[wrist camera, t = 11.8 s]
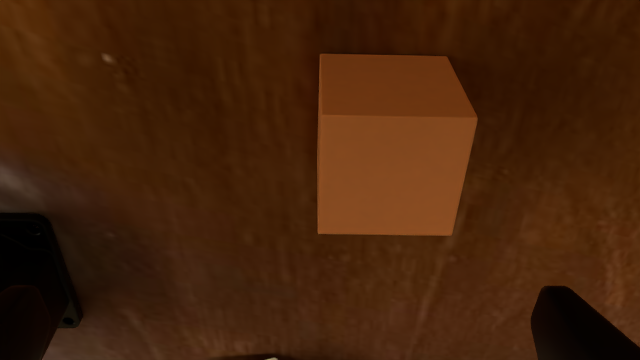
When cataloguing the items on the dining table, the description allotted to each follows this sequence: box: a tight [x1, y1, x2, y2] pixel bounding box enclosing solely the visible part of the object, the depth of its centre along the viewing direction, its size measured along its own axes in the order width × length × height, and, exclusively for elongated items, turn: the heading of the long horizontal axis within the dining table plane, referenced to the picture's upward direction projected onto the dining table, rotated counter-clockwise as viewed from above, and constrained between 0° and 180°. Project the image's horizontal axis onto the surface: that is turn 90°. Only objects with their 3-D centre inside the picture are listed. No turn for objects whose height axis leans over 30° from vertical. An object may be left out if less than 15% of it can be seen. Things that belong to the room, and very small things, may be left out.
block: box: [317, 54, 478, 236], centre depth 17 cm, size 4×4×4 cm
